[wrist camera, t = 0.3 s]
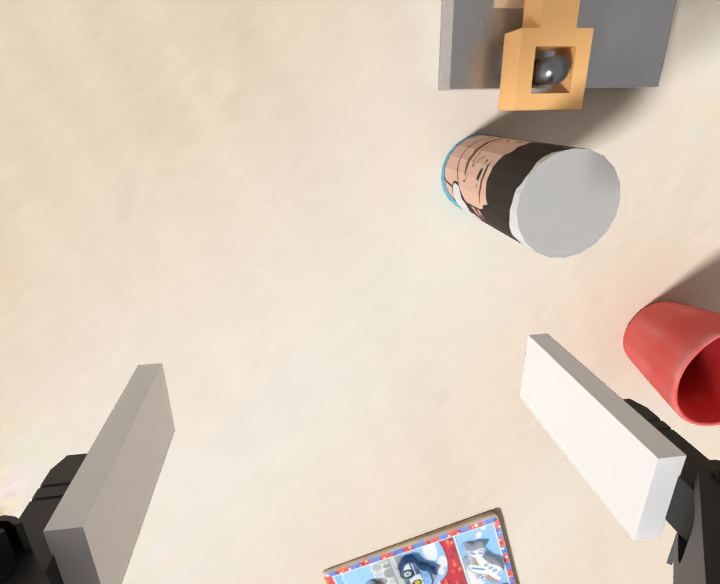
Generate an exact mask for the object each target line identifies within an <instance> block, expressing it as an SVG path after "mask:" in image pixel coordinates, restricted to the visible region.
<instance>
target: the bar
mask: <svg viewBox="0 0 720 584" xmlns="http://www.w3.org/2000/svg"><path fill="white" fill-rule="evenodd" d="M579 4H580V0H525V4H524V14H523V24H522V28H520V29H518V30H515V31H512V32H509V33H506V34H505V36H504V47H503V59H502V70H501V82H500V93H499V105H498V110H567V109H582V104H583V97H584V91H585V84H586V77H587V71H588V64H589V57H590V50H591V44H592V37H593V30H594V28H576V26H577V19H578V12H579ZM535 51H555V56H556V55H562V56H564V57H565V58H566V59H567V60H568V62H569V72H568V75H567V77H566V78H565V79H564V80H563V81H562V82H560V83H558V84H551V88H550V93H538V94H531V85H532V76H533V67H534V58H535Z"/></svg>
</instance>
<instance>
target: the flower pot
mask: <svg viewBox="0 0 720 584" xmlns="http://www.w3.org/2000/svg"><path fill="white" fill-rule="evenodd" d="M623 346H624V350H625V352H626V354H627V356H628V357H629V359H630V360H631V361H632V362H633V363H634V365H635V366H636V367H637V368H638V369H639V371H640V372H641V373H642V374H643V375H644V377H645V378H646V379H647V380H648V381H649V382H650V384H651V385H652V386H653V387H654V388H655V389H656V390H657V392H658V393H659V394H660V395H661V396H662V397H663V398H664V399H665V401H666V402H667V403H668V404H669V405H670V406H671V407H672V409H673V410H674V411H675V412H676V413H677V414H678V415H679V416H680V417H681V418H683V419H684V420H686V421H688V422H690V423H692V424H695V425H701V426H713V425H720V313H716V312H712V311H708V310H704V309H700V308H696V307H692V306H687V305H683V304H679V303H674V302H668V301H663V302H657V303H654V304H651V305H649V306H647V307H645V308H644V309H642V310H641V311H640V312H638V313H637V314H636V315H635V316H634V318H633V319H632V321H631V323H630V324H629V325H628V326H627V328H626V330H625V333H624V338H623Z"/></svg>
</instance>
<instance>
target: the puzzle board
mask: <svg viewBox="0 0 720 584" xmlns="http://www.w3.org/2000/svg"><path fill="white" fill-rule="evenodd" d="M323 577H324V579H325V581H326V583H327V584H516V582H515V578H514V574H513V571H512V567H511V563H510V559H509V555H508V551H507V547H506V544H505V540H504V536H503V532H502V528H501V524H500V522H499V518H498V516H497V515H496V514H495V512H494V511H493V510H491V511H488V512H485V513H482V514H479V515H476V516H473V517H471V518H468V519H465V520H462V521H459V522H457V523H454V524H451V525H448V526H445V527H443V528H440V529H437V530H434V531H431V532H429V533H426V534H423V535H420V536H418V537H415V538H412V539H409V540H406V541H404V542H401V543H398V544H395V545H392V546H390V547H387V548H384V549H381V550H379V551H376V552H373V553H370V554H367V555H365V556H362V557H359V558H356V559H354V560H351V561H348V562H345V563H342V564H340V565H337V566H334V567H331V568H329V569H326V570H324V571H323Z"/></svg>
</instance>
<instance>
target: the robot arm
mask: <svg viewBox="0 0 720 584" xmlns="http://www.w3.org/2000/svg"><path fill="white" fill-rule="evenodd" d="M520 398H521V400H522V401H523V402H524V403H525V405H526V406H527V407H528V408H529V410H530V411H531V412H532V413H533V415H534V416H535V417H536V418H537V420H538V421H539V422H540V423H541V425H542V426H543V427H544V429H545V430H546V431H547V432H548V434H549V435H550V436H551V437H552V439H553V440H554V441H555V442H556V444H557V445H558V446H559V447H560V449H561V450H562V451H563V452H564V454H565V455H566V456H567V457H568V459H569V460H570V461H571V462H572V464H573V465H574V466H575V467H576V469H577V470H578V471H579V472H580V474H581V475H582V476H583V477H584V479H585V480H586V481H587V482H588V484H589V485H590V486H591V488H592V489H593V490H594V491H595V493H596V494H597V495H598V496H599V498H600V499H601V500H602V501H603V503H604V504H605V505H606V506H607V508H608V509H609V510H610V511H611V513H612V514H613V515H614V516H615V518H616V519H617V520H618V521H619V523H620V524H621V525H622V526H623V528H624V529H625V530H626V531H627V533H628V534H629V535H630V536H631V538H632V539H633V540H634V541H639V540H646V539H653V538H660V537H661V534H662V531H663V528H664V525H665V521H666V520H667V521H668V522H669V524H670V525H671V526H672V527H673V528H674V529H675V530H676V531H677V533H676V536H675V539H674V542H673V545H672V548H671V551H670V554H669V557H668V560H667V563H668V564H670V565H672V563H673V560H674V575H673V584H720V461H719V460H709V459H707V458H706V457H705V456H704V455H703V454H701V453H700V452H699V451H698V450H697V449H696V448H694V447H693V446H692V445H691V444H690V443H688V442H687V441H686V440H685V439H684V438H682V437H681V436H680V435H679V434H678V433H676V432H675V431H674V430H671V427H669V426H668V425H667V424H666V423H665V422H663V421H660V418H659V417H657V416H656V415H655V414H654V413H653V412H651V411H650V410H649V409H648V408H647V407H645V406H643V405H641V404H639V403H637V402H635V401H633V400H631V399H622V398H620V397H619V396H618V395H617V394H616V393H615V392H614V391H612V390H611V389H610V388H609V387H608V386H607V385H606V384H604V383H603V382H602V381H601V380H600V379H599V378H598V377H596V376H595V375H594V374H593V373H592V372H591V371H590V370H589V369H587V368H586V367H585V366H584V365H583V364H582V363H581V362H579V361H578V360H577V359H576V358H575V357H574V356H573V355H571V354H570V353H569V352H568V351H567V350H566V349H565V348H563V347H562V346H561V345H560V344H559V343H558V342H557V341H555V340H554V339H553V338H552V337H551V336H550V335H549V334H538V335H528V342H527V349H526V356H525V363H524V370H523V377H522V384H521V391H520ZM174 431H175V428H174V423H173V417H172V412H171V407H170V402H169V396H168V391H167V386H166V381H165V375H164V370H163V365H162V363H160V364H147V365H138V367H137V368H136V370H135V372H134V374H133V375H132V377H131V379H130V381H129V382H128V384H127V386H126V388H125V389H124V391H123V393H122V395H121V396H120V398H119V400H118V402H117V403H116V405H115V407H114V409H113V410H112V412H111V414H110V416H109V417H108V419H107V421H106V422H105V424H104V426H103V428H102V429H101V431H100V433H99V435H98V436H97V438H96V440H95V442H94V443H93V445H92V447H91V449H90V450H89V452H88V453H87V454H77V455H67V456H66V457H65V458H64V459H63V460H62V461H60V462H59V463H58V464H57V465H56V466H55V467H53V468H52V469H51V470H50V472H49V473H48V475H47V476H46V478H45V479H44V481H43V482H42V484H41V485H40V486H41V487H40V489H38V490H37V492H36V493H35V495H34V496H33V498H32V502H29V504H28V505H27V507H26V508H25V510H24V512H23V513H22V515H21V516H20V518H19V519H18V518H17V517H14V516H6V515H4V516H0V584H122V582H123V579H124V576H125V573H126V570H127V567H128V564H129V561H130V558H131V556H132V553H133V550H134V547H135V544H136V541H137V538H138V535H139V532H140V530H141V527H142V524H143V521H144V518H145V515H146V512H147V509H148V506H149V504H150V501H151V498H152V495H153V492H154V489H155V486H156V483H157V480H158V478H159V475H160V472H161V469H162V466H163V463H164V460H165V457H166V454H167V452H168V449H169V446H170V443H171V440H172V437H173V434H174Z"/></svg>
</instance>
